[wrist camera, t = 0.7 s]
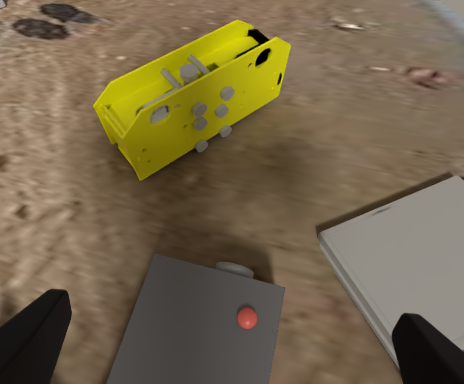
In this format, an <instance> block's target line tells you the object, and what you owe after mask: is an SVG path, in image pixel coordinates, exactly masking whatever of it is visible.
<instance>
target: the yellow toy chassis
mask: <svg viewBox="0 0 464 384" xmlns="http://www.w3.org/2000/svg"><path fill="white" fill-rule="evenodd" d="M290 48H291V45H290V44H289V43H287V42H285V41H283V40H281V39H279V38H277V37H275V38H273V39H271V40H269V39H268V38H267V37H265V36H264V35H263V34H262V33H261V32H259V31H258V30H257V29H253V26H252V25H250V24H248V23H245V22H242V21H240V20H235V21H233V22H231V23H229V24H227V25H225V26H223V27H221V28H219V29H217V30H215V31H213V32H211V33H209V34H207V35H205V36H203V37H201V38H199V39H197V40H195V41H193V42H191V43H189V44H187V45H184V46H182V47H180V48H178V49H176V50H174V51H172V52H170V53H168V54H166V55H164V56H162V57H160V58H158V59H156V60H154V61H152V62H150V63H148V64H146V65H144V66H142V67H140V68H138V69H136V70H134V71H132V72H130V73H127V74H125V75H123V76H121V77H119V78H117V79H115V80H113V81H111V82H110V83H109V84H108V85H107V87H106V88H105V90H104V91H103V92H102V94H101V95H100V97H99V98H98V99H97V101H96V102H95V104H94V105H93V107H94V109H95V111H96V113H97V115H98V117H99V119H100V121H101V123H102V126H103V128H104V130H105V132H106V134H107V136H108V138H109V140H110V142H111V144H114V143H116V142H117V144H118V145H119V146H118V149H119V150H120V151H121V153H122V154H123V155H124V156H125V158H126V159H127V160H128V162H129V163H130V164H131V166H132V167H133V168H134V169H135V171H136V174H137V176H138V178H139V180H140V181H142V180H143V179H145V178H147V177H148V176H150V175H151V174H153V173H155V172H156V171H158V170H160V169H161V168H163V167H164V166H166V165H168V164H169V163H171V162H173V161H174V160H176V159H177V158H179V157H181V156H182V155H184V154H186V153H187V152H189V151H190V150H192V149H194V148H195V149H196V150H197V151H198V152H202V151H204V150H205V149H206V148H207V147H208V143H207V142H206V141H207V140H208V139H210V138H211V137H213V136H215V135H216V134H218V133H219V134H220V135H221V136H222V137H226V136H228V135H229V134H230V133H231V130H232V129H231V127H230V126H231V125H232V124H234V123H236V122H237V121H239V120H241V119H242V118H244V117H245V116H247V115H249V114H250V113H252V112H254V111H255V110H257V109H258V108H260V107H262V106H263V105H265V104H266V103H268V102H270V101H271V100H273V99H275V98H276V97H278V96H279V92H280V88H281V84H282V80H283V76H284V72H285V68H286V64H287V60H288V56H289V52H290Z"/></svg>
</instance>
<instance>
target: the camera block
mask: <svg viewBox="0 0 464 384" xmlns="http://www.w3.org/2000/svg"><path fill="white" fill-rule="evenodd" d="M253 275H254V272H253V271H252V270H251V269H249V268H247V267H245V266H242V265H239V264H235V263H231V262H217V263H216V266H215V269H213V268H209V267H206V266H202V265H198V264H194V263H191V262H187V261H183V260H179V259H175V258H172V257H168V256H164V255H160V254H156V253H154V256H153V259H152V261H151V264H150V267H149V269H148V272H147V275H146V278H145V280H144V283H143V286H142V288H141V291H140V294H139V296H138V299H137V302H136V304H135V307H134V310H133V313H132V315H131V318H130V321H129V323H128V326H127V329H126V331H125V334H124V337H123V339H122V342H121V345H120V348H119V350H118V353H117V356H116V358H115V361H114V364H113V366H112V369H111V372H110V375H109V377H108V380H107V383H106V384H268V383H269V377H270V372H271V366H272V360H273V354H274V349H275V343H276V337H277V332H278V326H279V320H280V314H281V309H282V303H283V297H284V291H285V287H281V286H277V285H274V284H270V283H266V282H262V281H259V280H255V279H253Z"/></svg>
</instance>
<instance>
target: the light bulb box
mask: <svg viewBox="0 0 464 384" xmlns="http://www.w3.org/2000/svg"><path fill="white" fill-rule="evenodd" d="M5 6H6V4H5V2H4V1H3V0H0V8H3V7H5Z"/></svg>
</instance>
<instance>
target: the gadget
mask: <svg viewBox="0 0 464 384" xmlns="http://www.w3.org/2000/svg"><path fill="white" fill-rule="evenodd" d="M318 239H319V241H320V243H321V244H320V245H319V246H320V248H321V250H322V252H323V254H324V255H325V257H326V259H327V261H328V262H329V264H330V266H331V268H332V270H333V271H334V273H335V274H336V276H337V277H338V279H339V280H340V282H341V283H342V285H343V286H344V288H345V289H346V291H347V292H348V294H349V295H350V297H351V298H352V300H353V301H354V302H355V304H356V305H357V307H358V308H359V310H360V311H361V313H362V314H363V316H364V317H365V319H366V320H367V322H368V323H369V325H370V326H371V328H372V329H373V331H374V332H375V334H376V335H377V337H378V338H379V340H380V341H381V343H382V344H383V346H384V347H385V349H386V350H387V352H388V353H389V355H390V356H391V358H392V359H393V361H394V362H395V364H396V365H397V367H398V368H399V365H398V361H397V358H396V354H395V350H394V346H393V342H392V331H393V329H394V327H395V325H396V323H397V321H398V320H399V318H400V316H401V315H402V314H403V313H416V314H419V315H421V316H422V317H423V318H425V319H426V320H427V321H428V322H429V323H431V324H432V325H433V326H434V327H435V328H436V329H438V330H439V331H440V332H441V333H442V334H443V335H445V336H446V337H447V338H448V339H449V340H451V341H452V342H453V343H454V344H455V345H456V346H458V347H459V348H460V349H461V350H462V351H464V181H463V180H462V179H461V178H460V177H459V176H458V175H456V176H454V177H451V178H449V179H447V180H444V181H442V182H439V183H437V184H435V185H432V186H430V187H427V188H425V189H423V190H420V191H418V192H415V193H413V194H411V195H408V196H406V197H403V198H401V199H399V200H396V201H394V202H391V203H389V204H387V205H384V206H382V207H379V208H377V209H375V210H372V211H370V212H367V213H365V214H363V215H360V216H358V217H356V218H353V219H351V220H348V221H346V222H344V223H341V224H339V225H336V226H334V227H332V228H329V229H327V230H324V231H322V232H320V233H319V235H318ZM399 370H400V369H399Z"/></svg>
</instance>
